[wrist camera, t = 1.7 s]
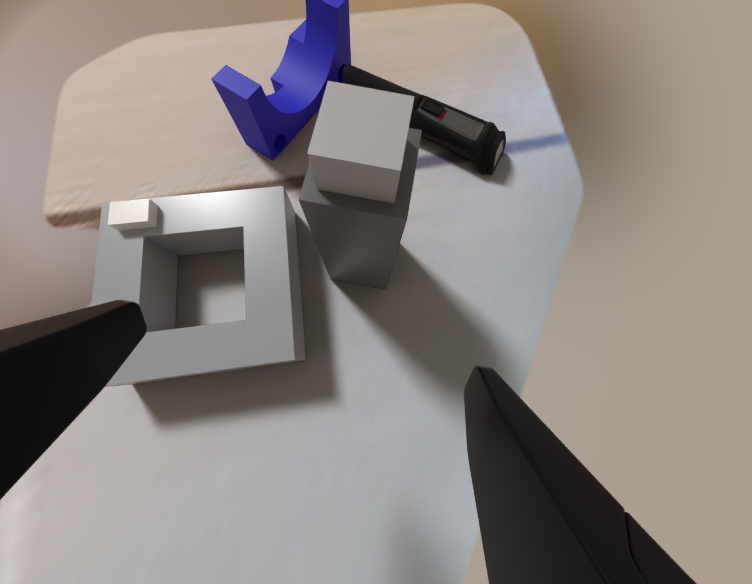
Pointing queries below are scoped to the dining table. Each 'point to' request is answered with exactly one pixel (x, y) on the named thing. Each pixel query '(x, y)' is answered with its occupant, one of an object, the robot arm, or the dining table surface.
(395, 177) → the plug
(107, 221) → the socket
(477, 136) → the electric trimmer
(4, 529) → the dining table surface
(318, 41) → the cable clip
